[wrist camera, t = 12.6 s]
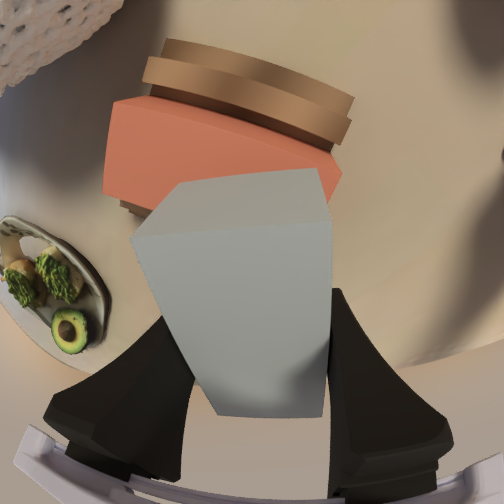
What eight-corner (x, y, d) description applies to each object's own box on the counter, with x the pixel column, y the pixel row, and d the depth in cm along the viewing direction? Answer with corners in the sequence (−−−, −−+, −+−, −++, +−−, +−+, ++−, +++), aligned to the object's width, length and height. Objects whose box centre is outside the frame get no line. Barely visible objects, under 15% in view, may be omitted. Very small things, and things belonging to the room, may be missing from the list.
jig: (351, 96, 14) (361, 99, 12) (276, 256, 21) (274, 278, 19) (172, 39, 13) (155, 35, 11) (134, 205, 20) (118, 222, 18)
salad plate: (2, 284, 30) (-15, 304, 26) (-9, 182, 20) (-38, 201, 16) (103, 353, 33) (89, 380, 29) (121, 267, 24) (96, 301, 20)
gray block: (320, 352, 15) (321, 417, 11) (230, 353, 16) (217, 415, 12) (316, 167, 9) (332, 221, 6) (179, 183, 10) (129, 238, 7)
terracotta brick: (330, 152, 15) (341, 173, 12) (296, 223, 18) (297, 260, 15) (149, 94, 14) (113, 102, 11) (135, 168, 17) (102, 193, 14)
